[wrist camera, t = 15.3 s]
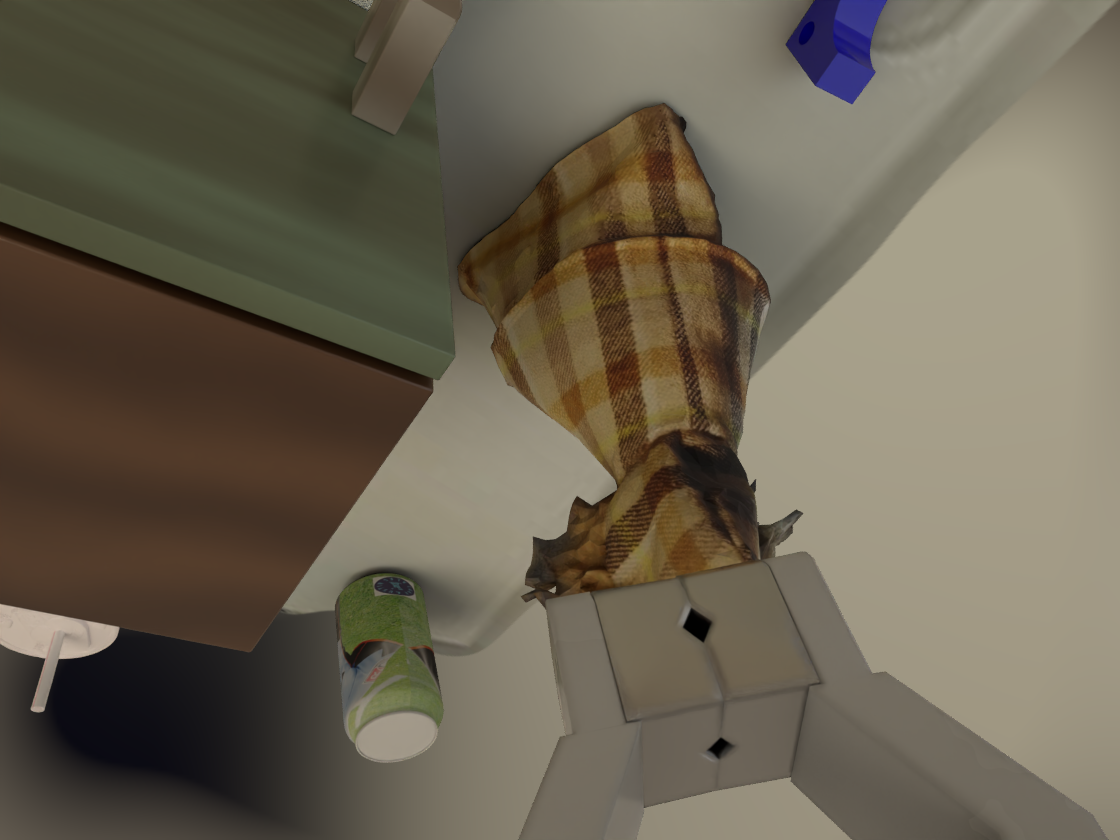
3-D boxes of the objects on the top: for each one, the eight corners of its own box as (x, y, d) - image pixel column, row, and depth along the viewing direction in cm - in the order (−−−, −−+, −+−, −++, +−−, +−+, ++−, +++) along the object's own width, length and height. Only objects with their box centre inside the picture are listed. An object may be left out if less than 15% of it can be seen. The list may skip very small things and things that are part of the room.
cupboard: (-143, -227, 30) (-603, 21, 16) (417, 69, 39) (435, 391, 25) (-187, 126, 38) (-526, 504, 24) (291, 305, 47) (250, 653, 33)
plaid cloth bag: (819, 271, 48) (965, 655, 28) (618, 410, 54) (621, 808, 34) (648, 64, 43) (681, 362, 23) (443, 244, 49) (325, 608, 28)
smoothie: (97, 532, 57) (36, 750, 47) (5, 476, 53) (-83, 702, 43) (177, 489, 55) (131, 706, 45) (88, 428, 51) (16, 652, 41)
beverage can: (320, 602, 65) (310, 768, 56) (372, 543, 61) (370, 712, 53) (399, 624, 68) (402, 784, 60) (453, 569, 64) (464, 732, 56)
